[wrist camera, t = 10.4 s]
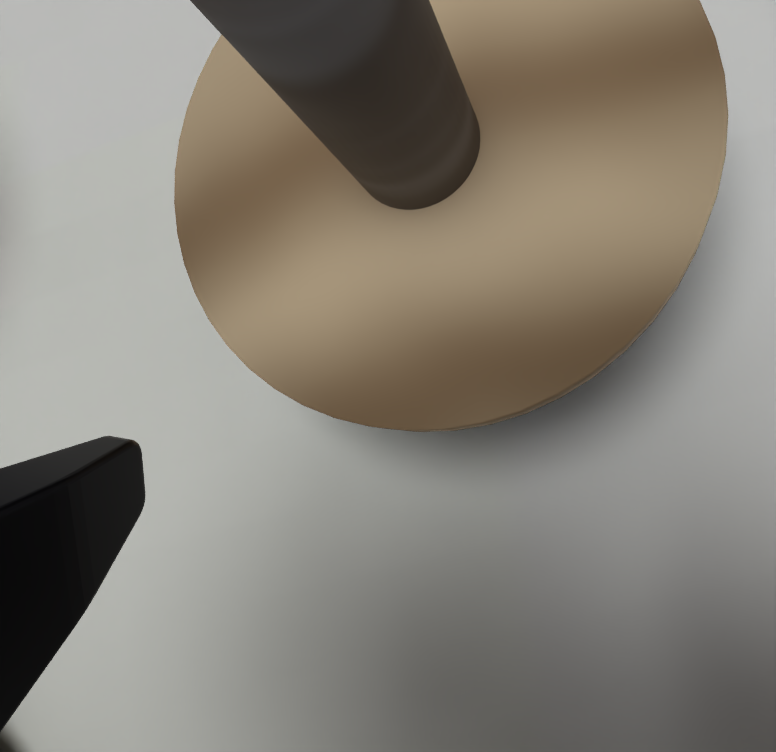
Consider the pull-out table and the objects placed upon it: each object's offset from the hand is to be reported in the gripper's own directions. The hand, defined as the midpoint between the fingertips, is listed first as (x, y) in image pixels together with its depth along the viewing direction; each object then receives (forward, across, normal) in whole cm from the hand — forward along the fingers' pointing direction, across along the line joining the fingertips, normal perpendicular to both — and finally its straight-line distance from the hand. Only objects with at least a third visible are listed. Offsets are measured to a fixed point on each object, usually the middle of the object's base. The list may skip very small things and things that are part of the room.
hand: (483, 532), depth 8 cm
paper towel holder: (+10, +2, -3) cm, 11 cm away
